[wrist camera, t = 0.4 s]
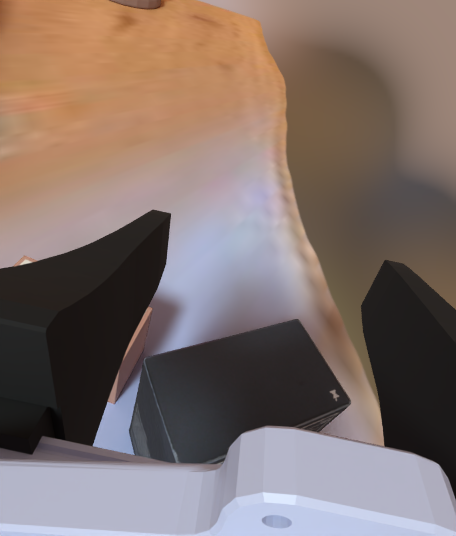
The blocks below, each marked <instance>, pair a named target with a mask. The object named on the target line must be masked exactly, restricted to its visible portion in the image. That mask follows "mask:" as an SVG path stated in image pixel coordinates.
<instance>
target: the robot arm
mask: <svg viewBox="0 0 456 536" xmlns="http://www.w3.org/2000/svg"><path fill="white" fill-rule="evenodd" d="M170 219H171V213H166V212H161V211H157V210H151V211H150V212H148V213H146V214H144V215H143V216H141V217H139V218H138V219H136V220H134V221H133V222H131V223H129V224H127V225H126V226H124V227H122V228H120V229H119V230H117V231H115V232H113V233H111V234H109V235H107V236H105V237H103V238H101V239H99V240H97V241H95V242H93V243H90V244H88V245H85V246H83V247H81V248H78V249H75V250H72V251H70V252H67V253H64V254H61V255H57V256H54V257H50V258H47V259H43V260H39V261H36V262H32V263H28V264H23V265H18V266H13V267H8V268H2V269H0V536H456V310H455V309H454V308H453V307H452V306H451V305H450V304H449V303H447V302H446V301H445V300H444V299H443V298H442V297H441V296H440V295H439V294H438V293H436V292H435V291H434V290H433V289H432V288H431V287H430V286H429V285H427V283H426V282H424V281H423V280H422V279H421V278H420V277H419V276H418V275H417V274H415V273H414V272H413V271H412V270H411V269H410V268H408V267H407V266H405V265H404V264H402V263H397V262H393V261H388V260H385V261H384V263H383V264H382V266H381V269H380V270H379V272H378V274H377V276H376V278H375V280H374V282H373V284H372V286H371V288H370V290H369V291H368V293H367V295H366V297H365V299H364V301H363V303H362V305H361V312H362V324H363V333H364V338H365V342H366V346H367V350H368V354H369V358H370V362H371V366H372V370H373V375H374V378H375V383H376V387H377V391H378V396H379V402H380V409H381V418H382V426H383V435H384V446H385V447H384V446H380V445H375V444H370V443H366V442H361V441H356V440H351V439H347V438H342V437H337V436H333V435H328V434H323V433H318V432H314V431H309V430H304V429H300V428H295V427H282V426H264V427H261V428H257V429H253V430H250V431H246V432H244V433H243V434H241V435H240V436H239V437H238V438H237V439H236V440H235V441H234V443H233V444H232V445H231V446H230V447H229V450H228V453H227V456H226V458H225V461H224V463H223V464H190V463H169V462H164V461H159V460H155V459H150V458H145V457H140V456H136V455H131V454H126V453H121V452H117V451H112V450H107V449H102V448H98V447H93V443H94V440H95V437H96V434H97V431H98V428H99V425H100V422H101V419H102V416H103V413H104V410H105V408H106V405H107V402H108V399H109V396H110V393H111V391H112V388H113V385H114V382H115V380H116V377H117V374H118V371H119V369H120V366H121V364H122V361H123V358H124V356H125V353H126V350H127V348H128V346H129V343H130V341H131V339H132V337H133V335H134V333H135V331H136V329H137V327H138V325H139V323H140V321H141V319H142V317H143V315H144V314H145V312H146V310H147V308H148V306H149V304H150V302H151V300H152V298H153V296H154V294H155V292H156V290H157V288H158V285H159V283H160V280H161V277H162V274H163V271H164V268H165V265H166V259H167V249H168V239H169V229H170Z"/></svg>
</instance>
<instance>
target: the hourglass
mask: <svg viewBox="0 0 456 536" xmlns="http://www.w3.org/2000/svg"><path fill="white" fill-rule="evenodd" d="M110 1H113V2H116V3H119V4H122V5H126V6H130V7H135V8H142V9H155V8H157V7H159V6H160V4H161V0H110Z"/></svg>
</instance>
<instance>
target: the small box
mask: <svg viewBox="0 0 456 536" xmlns="http://www.w3.org/2000/svg"><path fill="white" fill-rule="evenodd" d="M350 404H351V400H350V398H349V397H348V395H347V394H346V392H345V391H344V389H343V388H342V386H341V385H340V383H339V381H338V380H337V378H336V377H335V375H334V374H333V372H332V370H331V369H330V367H329V366H328V364H327V363H326V361H325V359H324V358H323V356H322V355H321V353H320V352H319V350H318V349H317V347H316V345H315V344H314V342H313V341H312V339H311V337H310V336H309V334H308V333H307V331H306V330H305V328H304V327H303V325H302V324H301V322H300V320H298V319H295V320H291V321H287V322H283V323H279V324H275V325H272V326H268V327H264V328H260V329H256V330H252V331H249V332H245V333H241V334H237V335H233V336H229V337H225V338H221V339H217V340H213V341H209V342H205V343H201V344H197V345H193V346H189V347H185V348H181V349H177V350H173V351H169V352H165V353H161V354H157V355H153V356H149V357H146V358H144V361H143V366H142V372H141V377H140V383H139V387H138V392H137V397H136V402H135V406H134V411H133V416H132V420H131V425H130V428H129V433H130V437H131V442H132V446H133V450H134V454H135V455H136V456H140V457H145V458H150V459H155V460H159V461H164V462H169V463H190V464H223V463H224V461H225V458H226V456H227V453H228V450H229V447H230V446H231V445H232V444H233V443H234V441H235V440H236V439H237V438H238V437H239V436H240V435H241V434H243V433H244V432H246V431H250V430H253V429H257V428H261V427H264V426H282V427H295V428H300V429H304V430H309V431H314V432H319V431H320V430H322V429H323V428H324V427H325V426H326V425H327V424H329V422H331V421H332V420H333V419H334V418H335V417H337V416H338V415H339V414H340V413H341V412H342V411H344V410H345V409H346V408H347V407H348V406H349V405H350Z"/></svg>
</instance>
